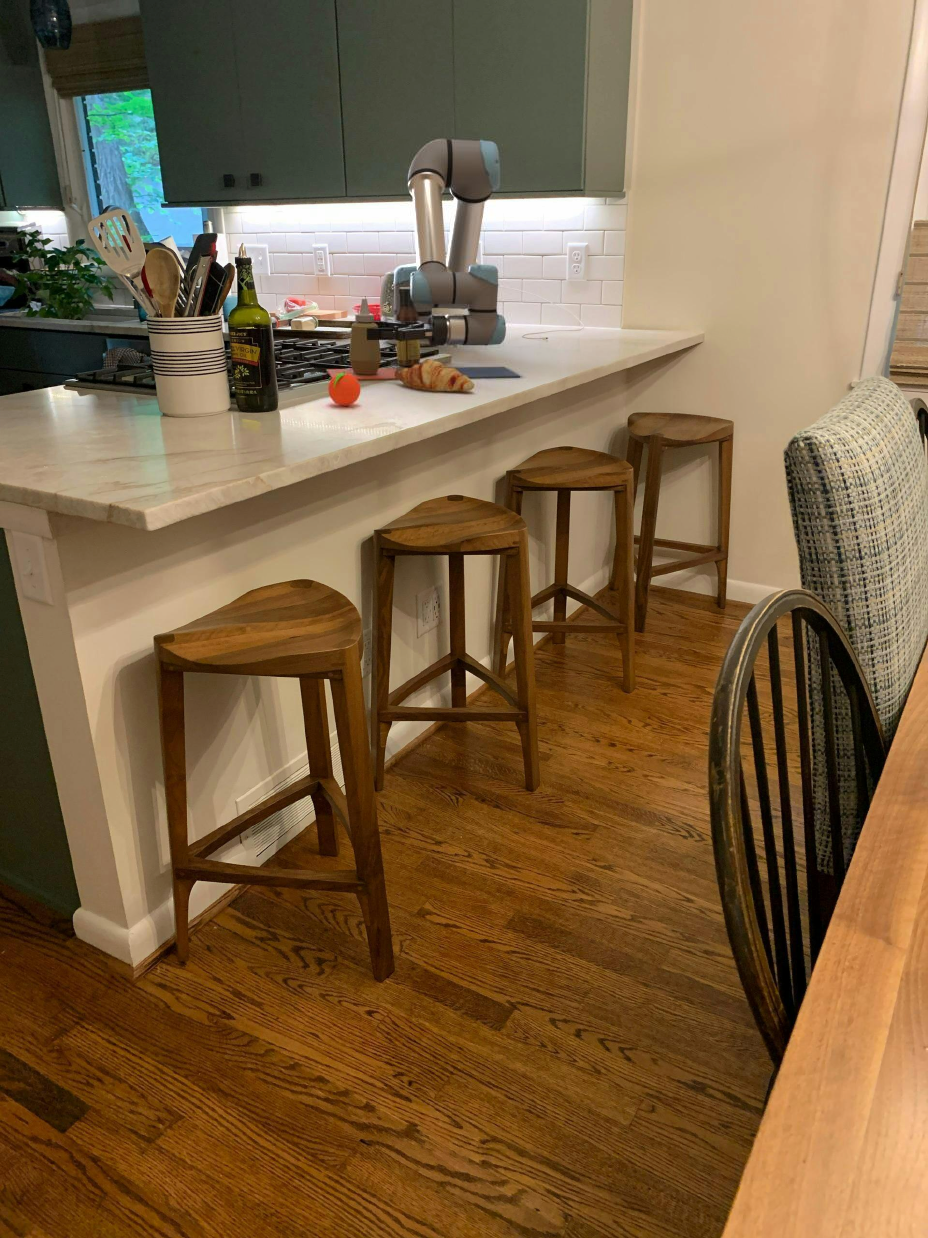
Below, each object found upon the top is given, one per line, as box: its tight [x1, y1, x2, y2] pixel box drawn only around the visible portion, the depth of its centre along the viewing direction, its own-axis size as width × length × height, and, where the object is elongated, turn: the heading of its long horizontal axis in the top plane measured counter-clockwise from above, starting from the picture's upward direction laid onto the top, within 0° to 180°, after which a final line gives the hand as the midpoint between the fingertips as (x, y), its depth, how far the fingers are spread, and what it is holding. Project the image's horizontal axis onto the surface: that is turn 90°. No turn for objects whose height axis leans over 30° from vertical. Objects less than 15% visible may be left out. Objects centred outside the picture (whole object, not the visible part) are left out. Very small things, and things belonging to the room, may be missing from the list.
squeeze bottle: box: [348, 298, 382, 375], centre depth 233 cm, size 8×8×18 cm
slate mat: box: [455, 366, 521, 379], centre depth 244 cm, size 14×18×1 cm
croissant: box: [395, 358, 475, 392], centre depth 221 cm, size 21×10×8 cm, turn 66°
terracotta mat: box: [325, 367, 399, 381], centre depth 236 cm, size 14×18×1 cm
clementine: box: [327, 372, 362, 407], centre depth 200 cm, size 8×7×7 cm
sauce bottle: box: [396, 287, 421, 367], centre depth 248 cm, size 7×6×20 cm
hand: (362, 330), depth 232 cm, fingers open, 13 cm apart
